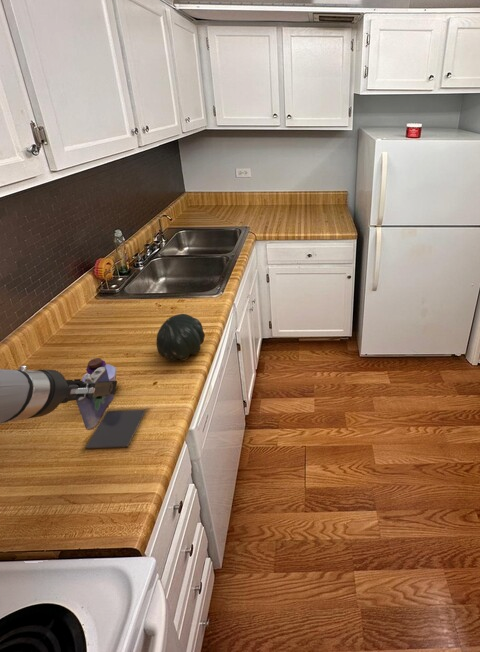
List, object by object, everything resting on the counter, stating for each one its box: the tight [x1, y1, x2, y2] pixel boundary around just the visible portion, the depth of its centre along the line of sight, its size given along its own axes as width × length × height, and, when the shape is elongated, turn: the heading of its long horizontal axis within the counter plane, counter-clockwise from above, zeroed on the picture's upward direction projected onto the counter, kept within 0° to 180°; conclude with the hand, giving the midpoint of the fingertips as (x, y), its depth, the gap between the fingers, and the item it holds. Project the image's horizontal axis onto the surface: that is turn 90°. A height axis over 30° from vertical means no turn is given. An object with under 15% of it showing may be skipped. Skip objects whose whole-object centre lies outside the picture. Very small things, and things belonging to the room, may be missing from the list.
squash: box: [156, 313, 206, 361], centre depth 108 cm, size 14×15×15 cm
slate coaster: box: [84, 409, 147, 450], centre depth 84 cm, size 10×10×1 cm
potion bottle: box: [81, 357, 117, 396], centre depth 92 cm, size 9×9×12 cm
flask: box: [75, 367, 115, 431], centre depth 72 cm, size 9×3×11 cm, turn 3°
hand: (106, 387), depth 77 cm, fingers closed on flask, 3 cm apart
